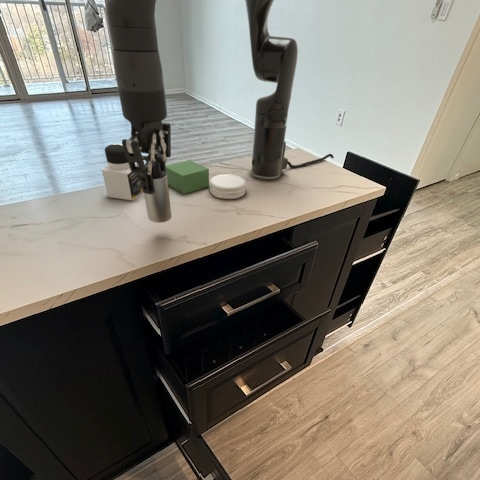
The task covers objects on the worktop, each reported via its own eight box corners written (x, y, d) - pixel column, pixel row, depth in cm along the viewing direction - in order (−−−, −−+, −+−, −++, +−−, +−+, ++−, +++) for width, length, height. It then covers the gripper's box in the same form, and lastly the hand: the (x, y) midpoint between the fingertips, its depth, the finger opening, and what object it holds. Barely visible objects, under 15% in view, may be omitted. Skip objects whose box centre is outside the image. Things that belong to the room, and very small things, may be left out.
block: (190, 177, 98) (189, 159, 94) (209, 186, 93) (208, 168, 90) (165, 184, 93) (163, 166, 90) (184, 194, 89) (182, 175, 85)
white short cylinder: (225, 203, 86) (225, 190, 83) (203, 191, 91) (202, 178, 88) (252, 194, 91) (253, 181, 88) (229, 183, 96) (229, 171, 93)
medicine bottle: (132, 201, 84) (123, 152, 76) (107, 197, 85) (95, 148, 76) (144, 190, 89) (136, 143, 81) (120, 187, 90) (110, 140, 81)
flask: (163, 209, 71) (156, 157, 64) (176, 217, 69) (170, 164, 61) (143, 216, 69) (134, 162, 61) (156, 225, 66) (147, 170, 59)
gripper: (139, 95, 47) (156, 205, 59) (180, 80, 57) (187, 178, 69) (95, 89, 48) (120, 199, 60) (142, 76, 58) (155, 172, 70)
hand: (155, 187), depth 64 cm, fingers closed on flask, 5 cm apart
